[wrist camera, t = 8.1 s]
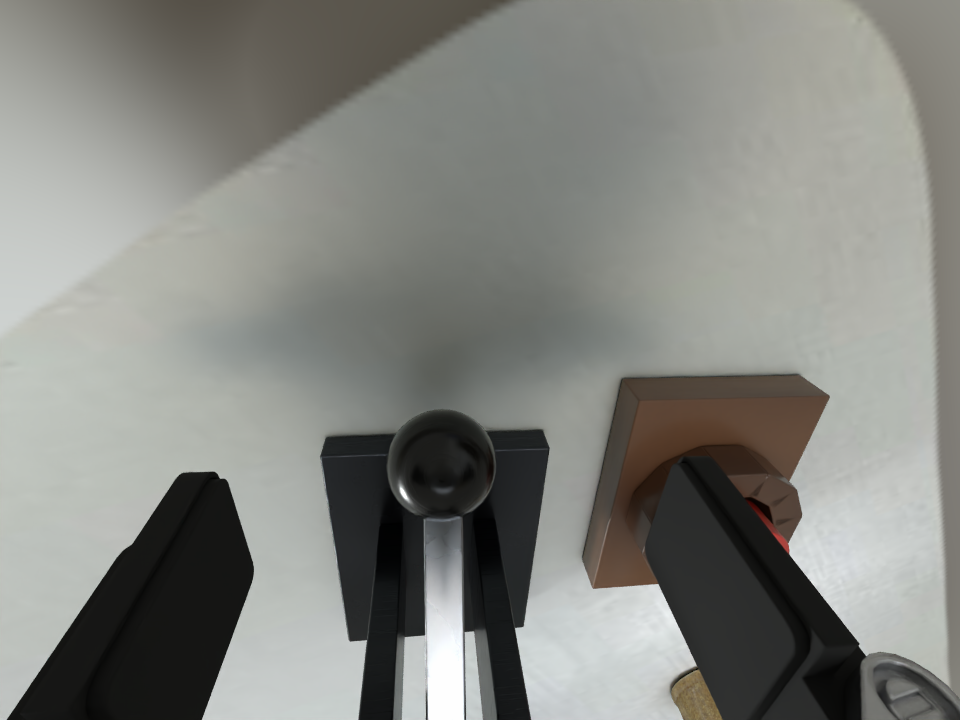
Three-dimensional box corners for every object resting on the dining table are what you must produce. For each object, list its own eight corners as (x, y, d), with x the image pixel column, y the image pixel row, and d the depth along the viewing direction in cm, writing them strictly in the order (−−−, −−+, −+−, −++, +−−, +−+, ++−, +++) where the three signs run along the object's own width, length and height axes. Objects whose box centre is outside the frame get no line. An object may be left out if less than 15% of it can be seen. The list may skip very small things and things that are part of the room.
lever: (390, 407, 15) (380, 415, 12) (487, 404, 15) (503, 411, 12) (394, 822, 14) (385, 949, 11) (495, 809, 15) (514, 928, 11)
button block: (621, 378, 19) (660, 430, 15) (800, 374, 19) (870, 423, 16) (581, 559, 24) (605, 625, 21) (724, 550, 25) (766, 612, 22)
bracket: (325, 436, 18) (198, 852, 8) (543, 429, 19) (679, 788, 9) (352, 619, 24) (297, 1001, 14) (519, 606, 25) (587, 951, 15)
